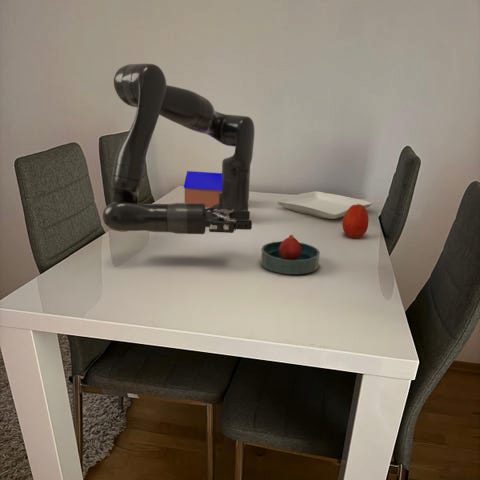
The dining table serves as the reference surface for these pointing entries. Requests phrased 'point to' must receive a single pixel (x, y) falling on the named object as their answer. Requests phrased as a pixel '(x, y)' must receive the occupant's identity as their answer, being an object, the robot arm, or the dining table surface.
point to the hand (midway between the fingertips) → (250, 219)
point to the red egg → (355, 221)
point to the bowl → (299, 266)
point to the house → (203, 188)
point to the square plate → (321, 204)
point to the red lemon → (290, 248)
